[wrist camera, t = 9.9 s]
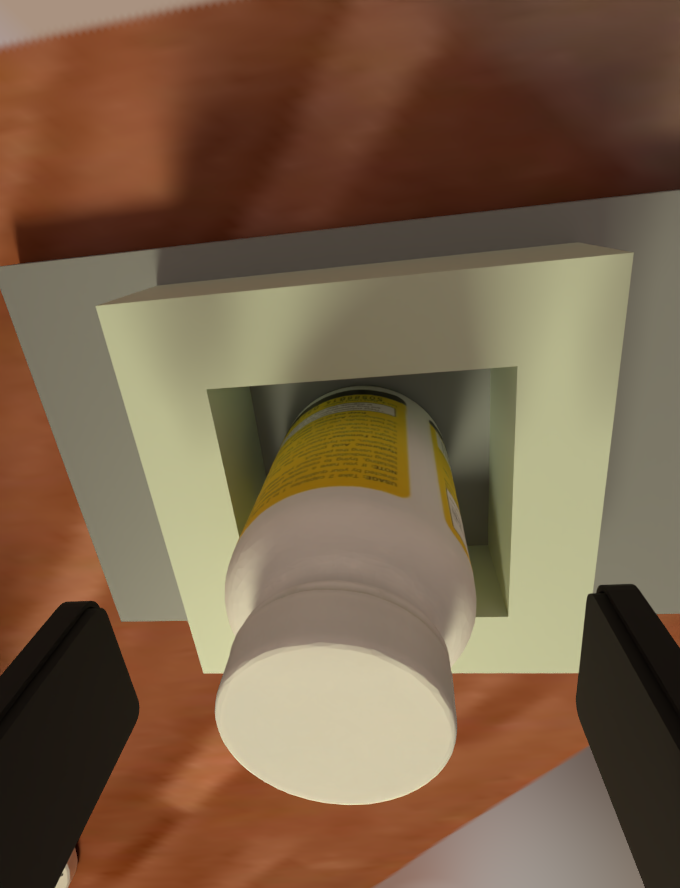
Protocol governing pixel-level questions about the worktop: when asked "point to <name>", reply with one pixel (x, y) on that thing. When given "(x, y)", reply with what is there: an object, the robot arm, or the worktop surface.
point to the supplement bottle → (349, 606)
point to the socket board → (391, 367)
